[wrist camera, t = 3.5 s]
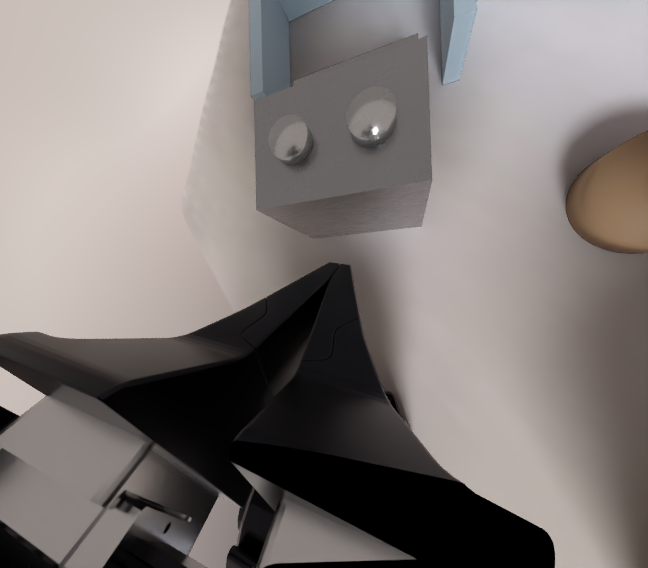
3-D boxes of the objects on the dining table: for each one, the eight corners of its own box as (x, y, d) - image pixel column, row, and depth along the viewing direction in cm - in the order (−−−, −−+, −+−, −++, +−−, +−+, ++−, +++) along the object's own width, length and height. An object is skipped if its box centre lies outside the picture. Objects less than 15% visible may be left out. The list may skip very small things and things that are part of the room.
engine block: (421, 226, 19) (433, 171, 10) (312, 238, 23) (248, 205, 14) (416, 75, 19) (423, -112, 10) (309, 110, 23) (243, -8, 14)
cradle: (459, 80, 18) (476, 8, 14) (281, 133, 24) (250, 95, 19) (453, -73, 19) (469, -195, 14) (278, 15, 24) (247, -50, 20)
